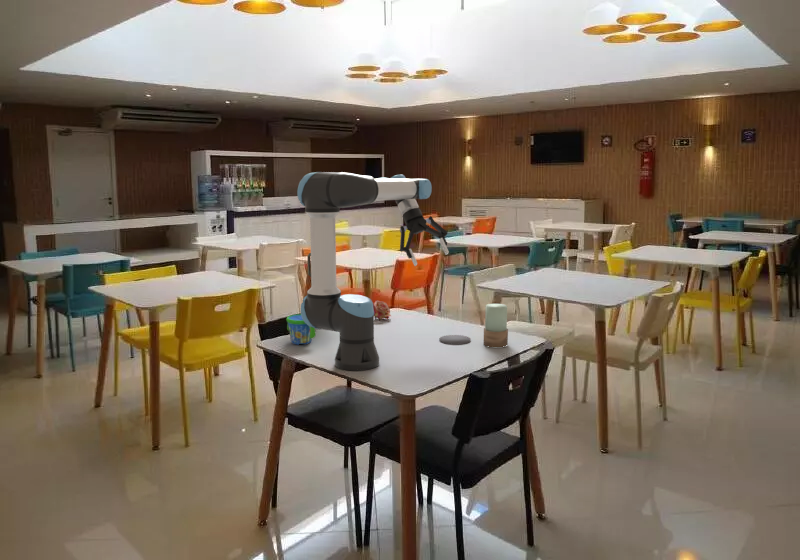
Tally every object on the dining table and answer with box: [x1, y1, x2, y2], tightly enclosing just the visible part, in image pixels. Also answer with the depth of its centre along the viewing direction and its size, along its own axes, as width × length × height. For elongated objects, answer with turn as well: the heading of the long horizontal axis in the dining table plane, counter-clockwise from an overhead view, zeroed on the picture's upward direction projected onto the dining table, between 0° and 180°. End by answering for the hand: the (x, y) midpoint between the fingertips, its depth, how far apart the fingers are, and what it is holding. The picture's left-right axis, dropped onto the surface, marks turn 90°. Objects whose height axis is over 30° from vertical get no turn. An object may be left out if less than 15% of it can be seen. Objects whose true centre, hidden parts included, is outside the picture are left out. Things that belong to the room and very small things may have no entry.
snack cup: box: [285, 313, 317, 346], centre depth 250 cm, size 16×10×10 cm
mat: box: [439, 334, 471, 346], centre depth 253 cm, size 12×12×1 cm
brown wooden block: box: [483, 327, 509, 348], centre depth 246 cm, size 9×9×6 cm
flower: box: [373, 299, 392, 321], centre depth 288 cm, size 10×9×8 cm
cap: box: [484, 303, 508, 332], centre depth 245 cm, size 8×8×9 cm
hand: (431, 259), depth 255 cm, fingers open, 13 cm apart
